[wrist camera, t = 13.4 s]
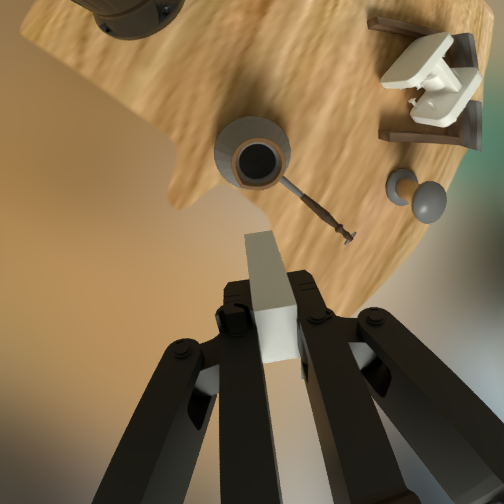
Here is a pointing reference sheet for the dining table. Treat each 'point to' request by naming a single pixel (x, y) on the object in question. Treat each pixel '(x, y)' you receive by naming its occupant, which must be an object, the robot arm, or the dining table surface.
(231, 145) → the coffee pot
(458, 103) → the cable organizer
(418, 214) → the mushroom drawer knob
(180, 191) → the dining table surface
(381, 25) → the notched bay
